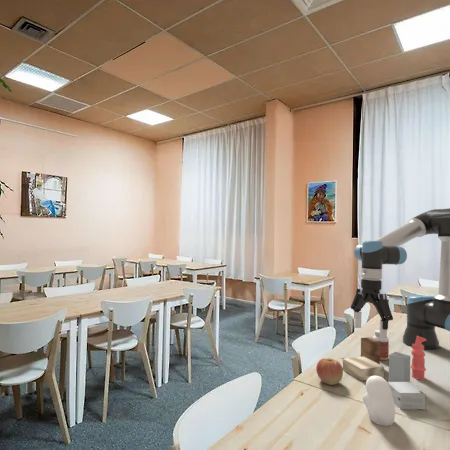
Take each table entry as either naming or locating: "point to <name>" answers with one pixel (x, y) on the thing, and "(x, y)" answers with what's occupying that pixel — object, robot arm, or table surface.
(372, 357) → the walnut pillar
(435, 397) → the table surface
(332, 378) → the apple
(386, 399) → the figurine
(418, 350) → the figurine
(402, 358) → the slate pillar
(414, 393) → the small box
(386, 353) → the pill bottle
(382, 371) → the birch base
